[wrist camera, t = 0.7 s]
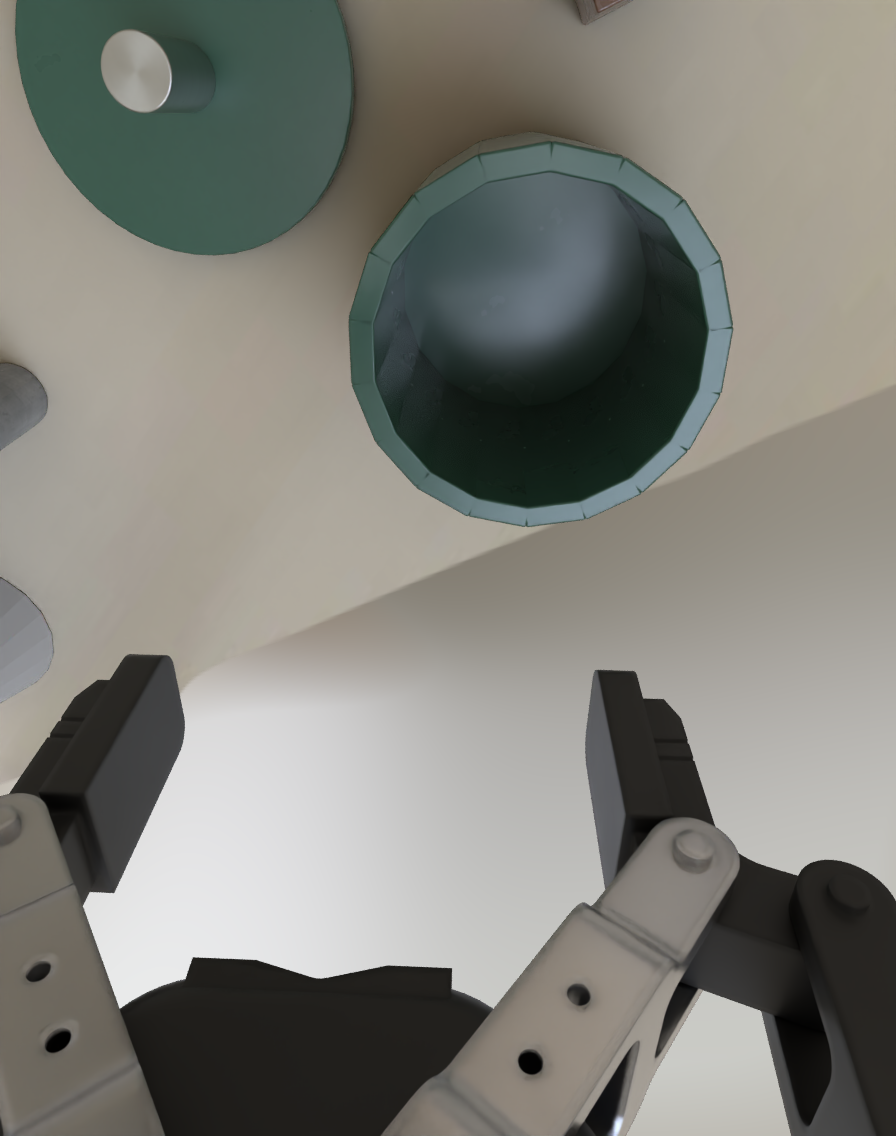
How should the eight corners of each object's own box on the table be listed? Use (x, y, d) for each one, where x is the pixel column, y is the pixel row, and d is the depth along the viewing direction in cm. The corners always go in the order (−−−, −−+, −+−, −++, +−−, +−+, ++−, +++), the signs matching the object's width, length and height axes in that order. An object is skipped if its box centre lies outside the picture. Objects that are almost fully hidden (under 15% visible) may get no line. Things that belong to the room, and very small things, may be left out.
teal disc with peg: (-27, -91, 30) (-140, -136, 24) (312, -170, 28) (271, -237, 23) (102, 273, 36) (34, 302, 31) (385, 224, 35) (367, 245, 29)
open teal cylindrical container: (360, 162, 33) (306, 184, 24) (658, 107, 32) (735, 106, 22) (413, 434, 39) (387, 545, 29) (667, 398, 38) (732, 502, 28)
